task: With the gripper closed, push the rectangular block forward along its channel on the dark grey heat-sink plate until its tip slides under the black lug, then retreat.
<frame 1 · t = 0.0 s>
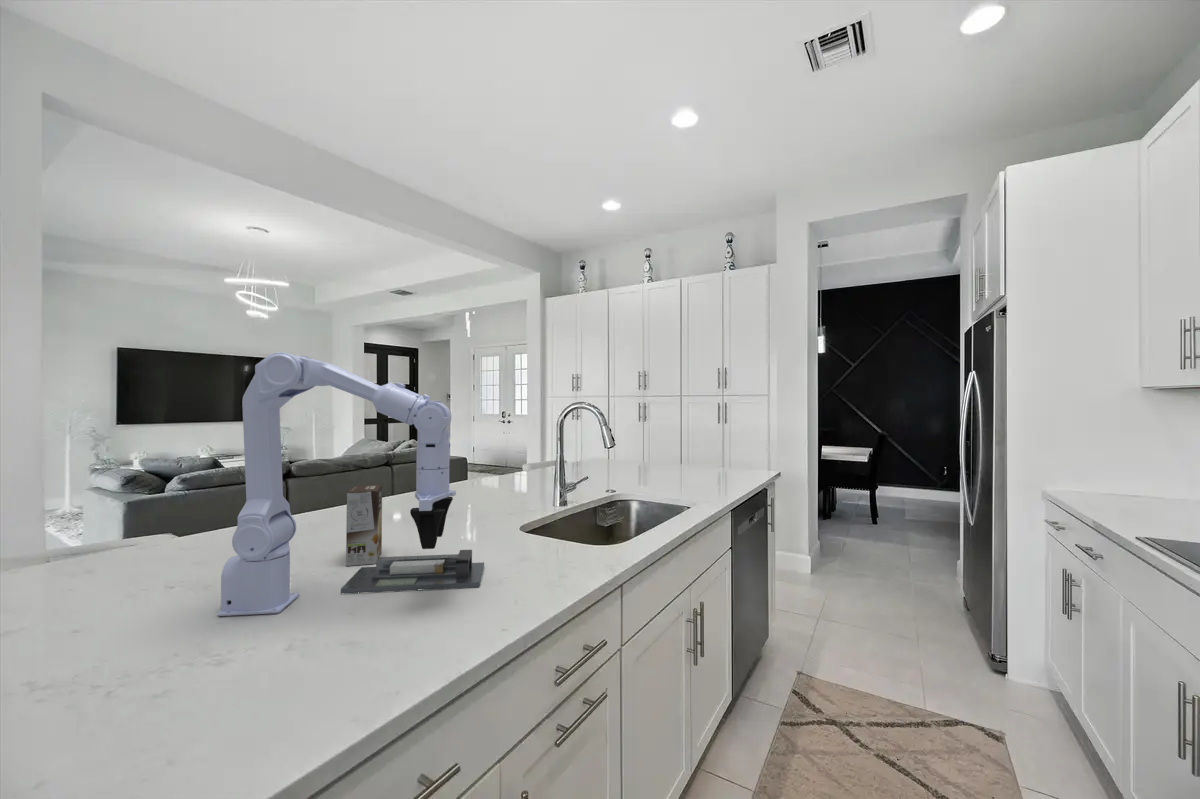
hand: (432, 542, 92), 10 cm above the countertop, tool pointing down, fingers open, 7 cm apart
rectangular block: (418, 568, 102), point 2 cm above the countertop, slide at 0.0 cm
heatsink base: (410, 579, 102), on the countertop
coffee box: (364, 559, 114), on the countertop
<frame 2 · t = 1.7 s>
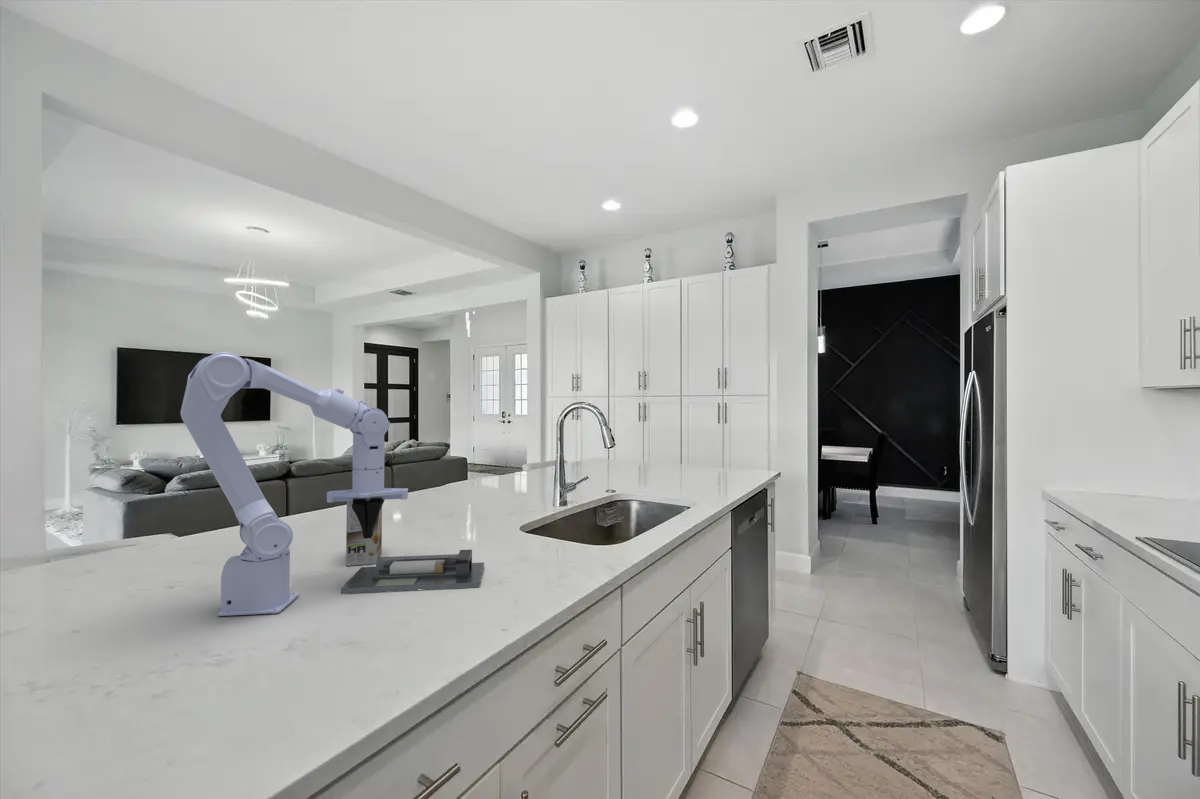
hand: (368, 536, 100), 9 cm above the countertop, tool pointing down, fingers closed
nothing on the countertop moved.
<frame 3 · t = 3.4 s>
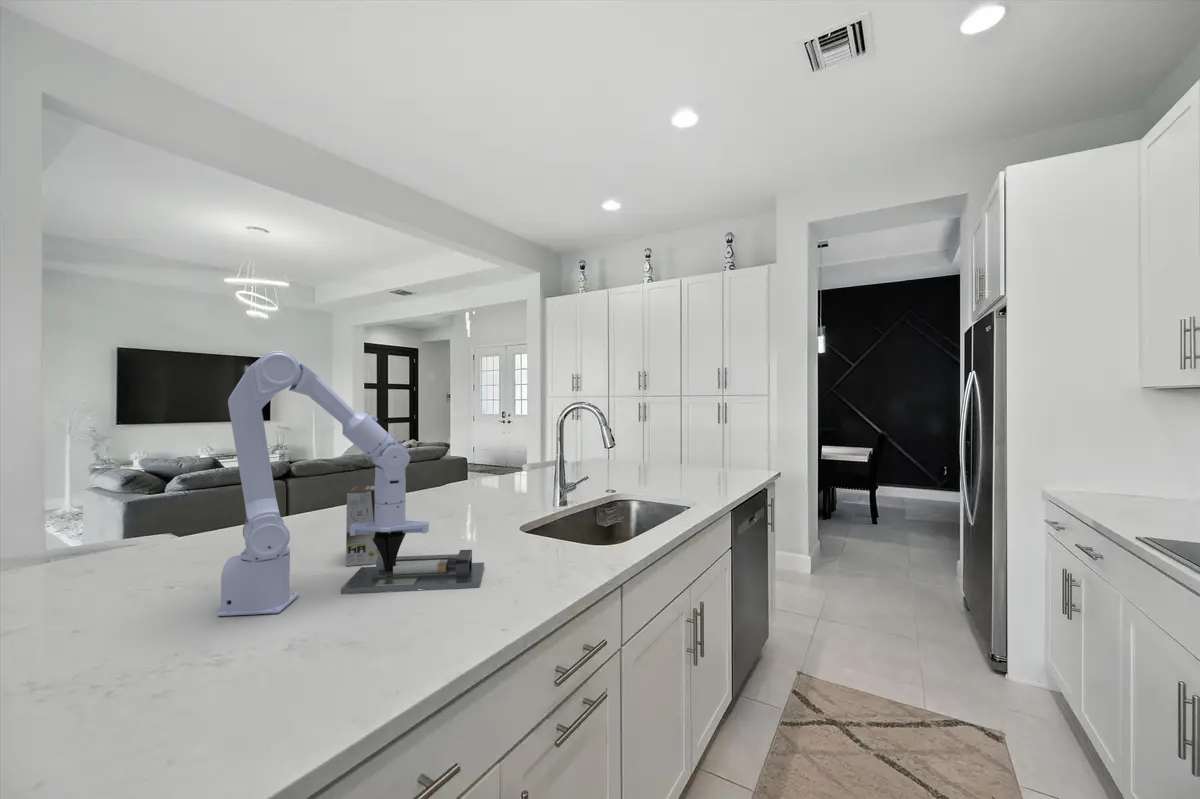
hand: (389, 569, 101), 2 cm above the countertop, tool pointing down, fingers closed
rectangular block: (421, 568, 102), point 2 cm above the countertop, slide at 0.6 cm, touching gripper
everything else where it was.
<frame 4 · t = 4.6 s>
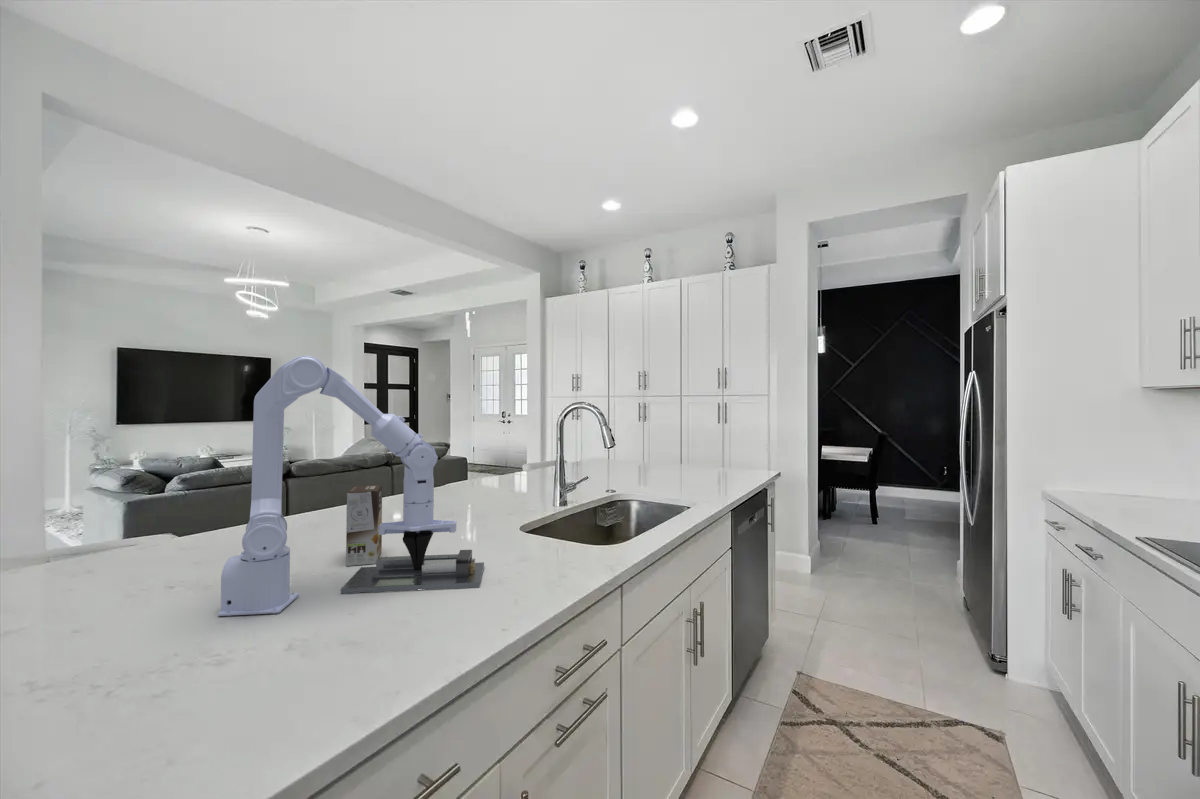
hand: (418, 568, 102), 2 cm above the countertop, tool pointing down, fingers closed
rectangular block: (449, 567, 103), point 2 cm above the countertop, slide at 6.0 cm, touching gripper
everything else where it was.
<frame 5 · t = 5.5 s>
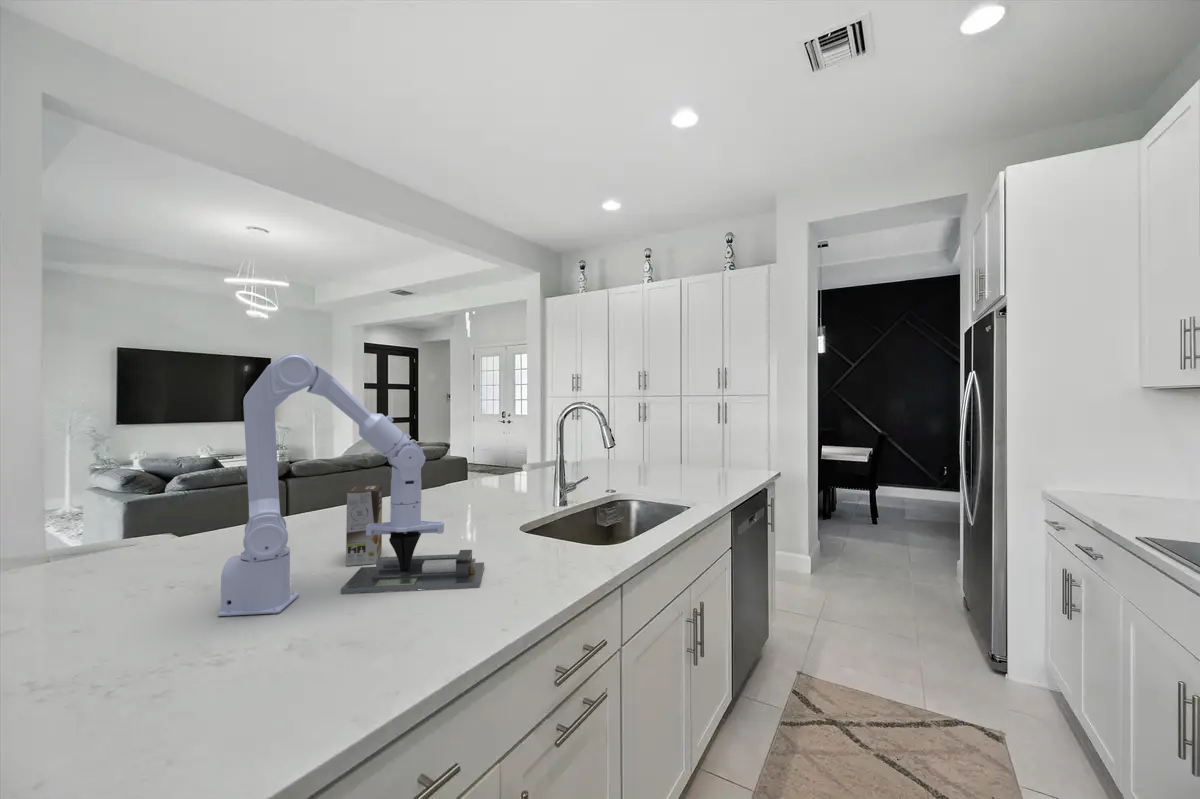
hand: (405, 569, 101), 2 cm above the countertop, tool pointing down, fingers closed
rectangular block: (449, 567, 103), point 2 cm above the countertop, slide at 6.1 cm
everything else where it was.
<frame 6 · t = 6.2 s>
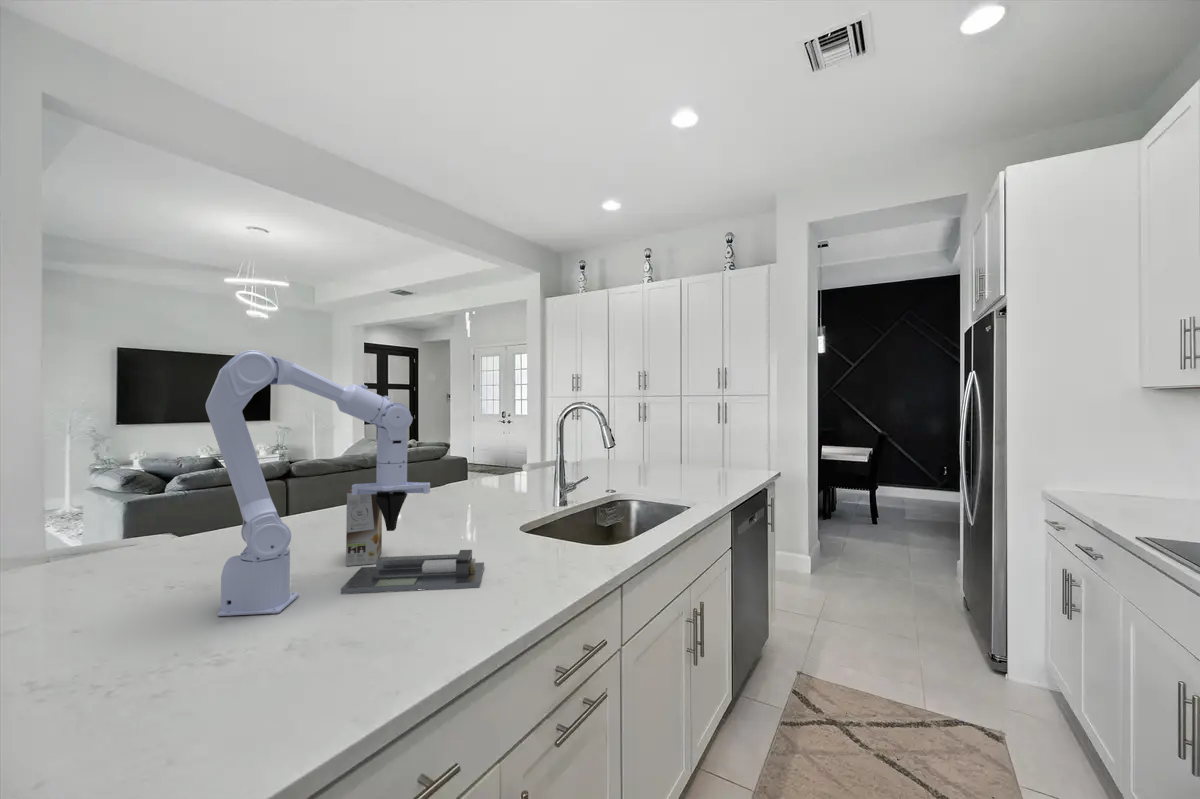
hand: (391, 529, 102), 10 cm above the countertop, tool pointing down, fingers closed
nothing on the countertop moved.
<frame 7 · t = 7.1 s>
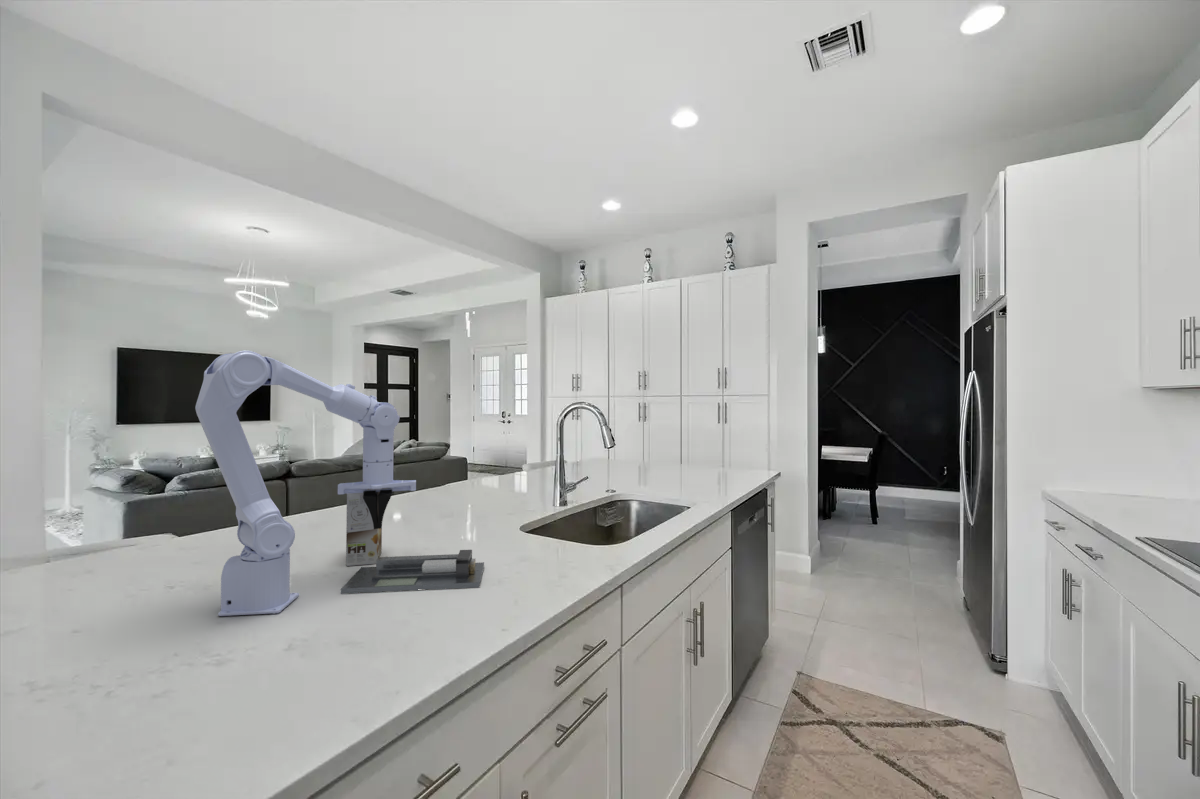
hand: (377, 527, 103), 10 cm above the countertop, tool pointing down, fingers closed
nothing on the countertop moved.
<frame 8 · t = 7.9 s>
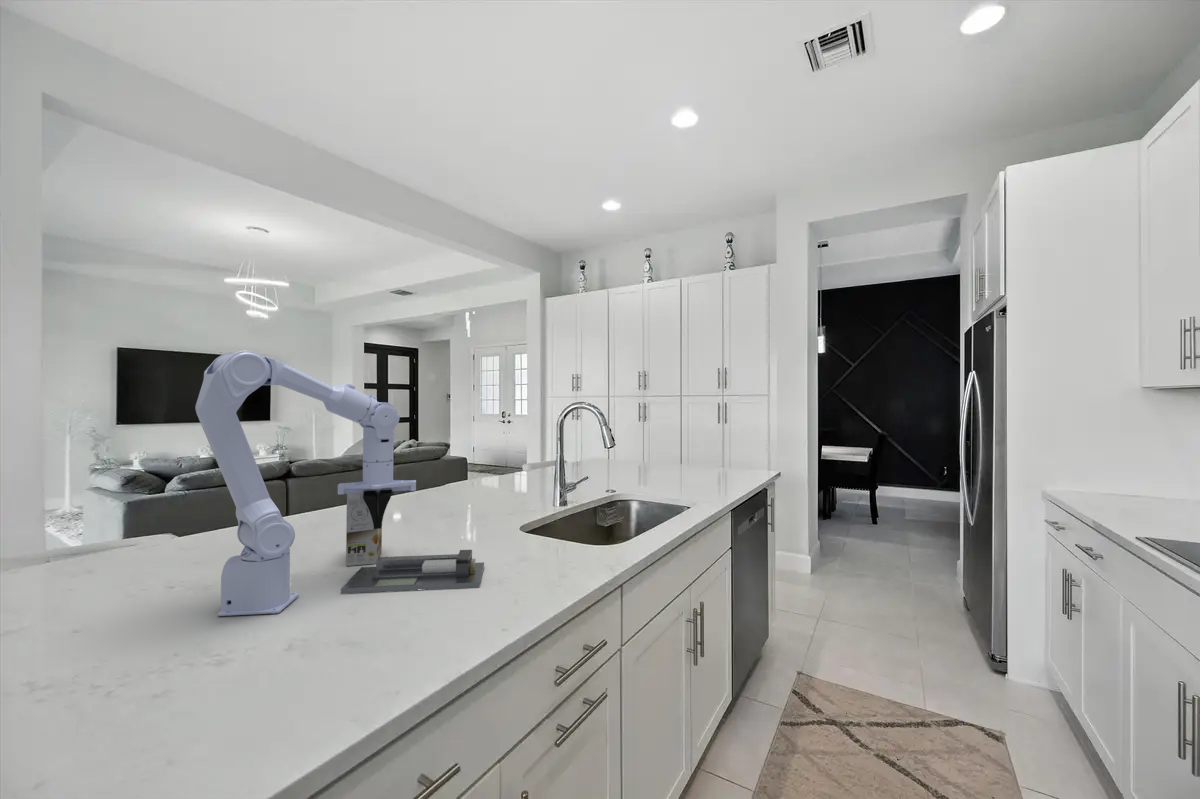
hand: (377, 527, 103), 10 cm above the countertop, tool pointing down, fingers closed
nothing on the countertop moved.
at the end: rectangular block slide at 6.1 cm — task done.
